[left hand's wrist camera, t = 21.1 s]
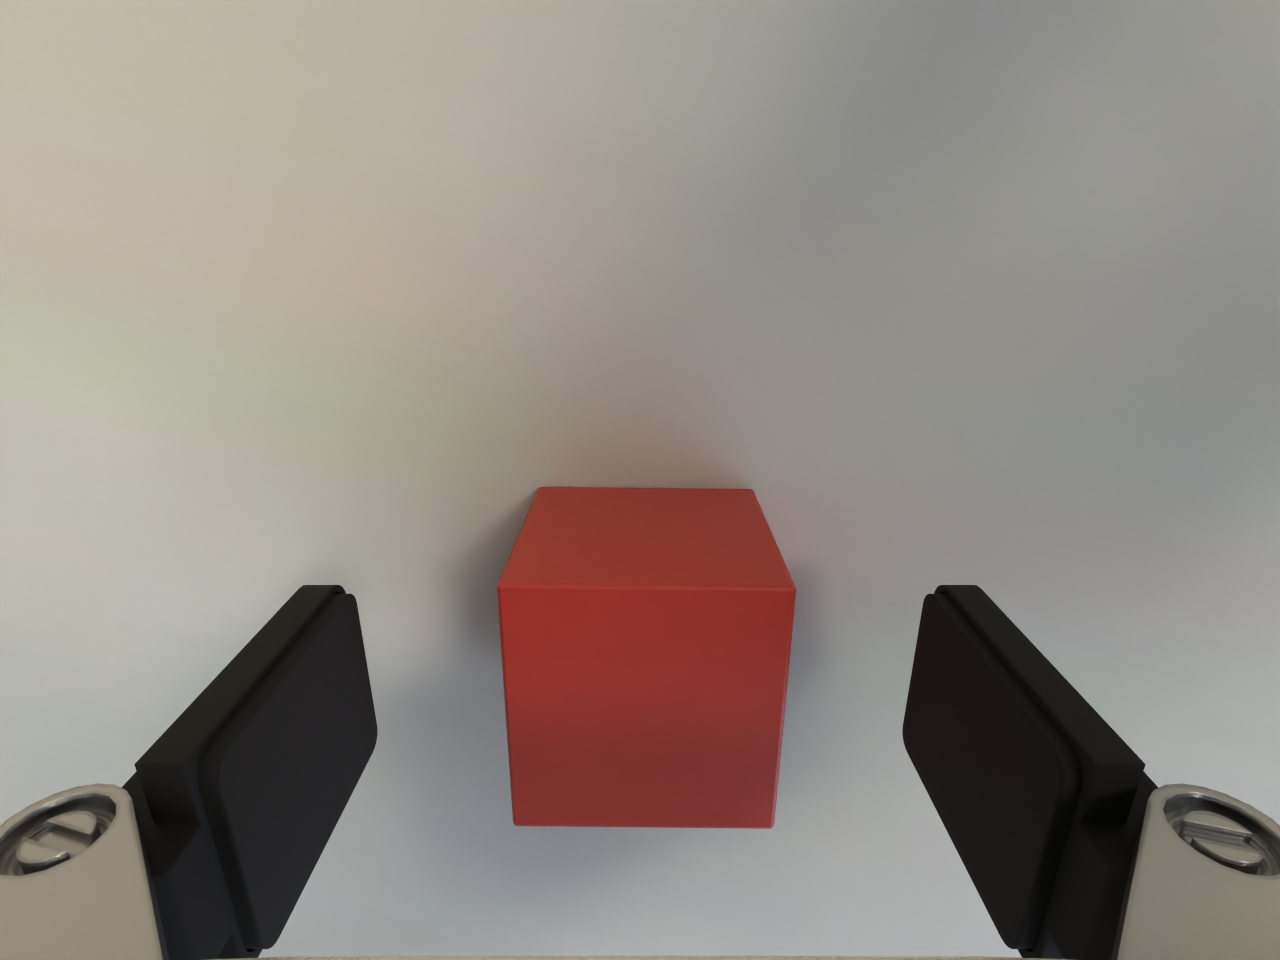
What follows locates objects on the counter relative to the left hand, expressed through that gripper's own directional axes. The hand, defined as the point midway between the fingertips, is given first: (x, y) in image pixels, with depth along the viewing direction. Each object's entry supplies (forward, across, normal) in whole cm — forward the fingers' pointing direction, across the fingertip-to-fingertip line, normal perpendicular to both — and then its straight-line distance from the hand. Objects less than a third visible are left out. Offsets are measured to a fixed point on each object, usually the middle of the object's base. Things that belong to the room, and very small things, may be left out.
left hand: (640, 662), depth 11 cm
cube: (+3, 0, 0) cm, 3 cm away
